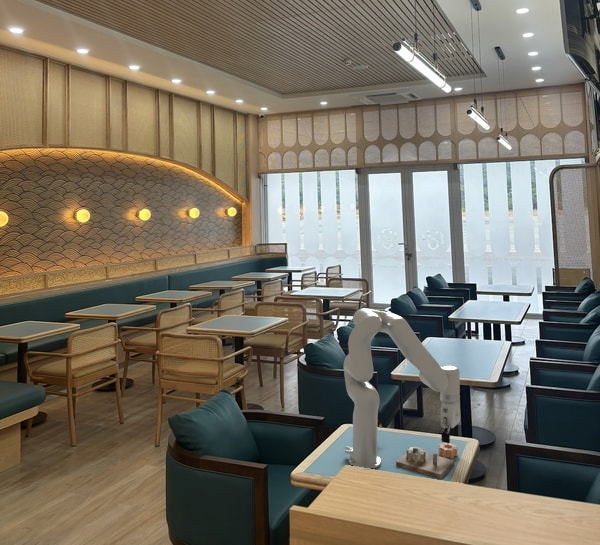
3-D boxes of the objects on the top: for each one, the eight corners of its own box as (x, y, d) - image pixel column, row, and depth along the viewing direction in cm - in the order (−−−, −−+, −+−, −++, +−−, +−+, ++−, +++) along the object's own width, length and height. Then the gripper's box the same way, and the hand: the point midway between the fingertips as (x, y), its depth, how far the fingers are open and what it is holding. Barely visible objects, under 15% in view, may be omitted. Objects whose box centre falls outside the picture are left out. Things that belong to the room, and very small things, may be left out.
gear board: (396, 465, 203) (396, 449, 203) (410, 452, 215) (411, 437, 214) (440, 478, 193) (441, 462, 192) (454, 463, 204) (454, 448, 203)
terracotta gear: (435, 455, 212) (435, 447, 212) (442, 448, 218) (442, 441, 217) (453, 459, 208) (453, 452, 207) (460, 453, 213) (460, 445, 213)
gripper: (451, 405, 201) (451, 448, 203) (466, 392, 215) (466, 432, 217) (432, 402, 206) (433, 443, 207) (448, 389, 219) (448, 428, 221)
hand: (450, 437), depth 212 cm, fingers open, 9 cm apart
